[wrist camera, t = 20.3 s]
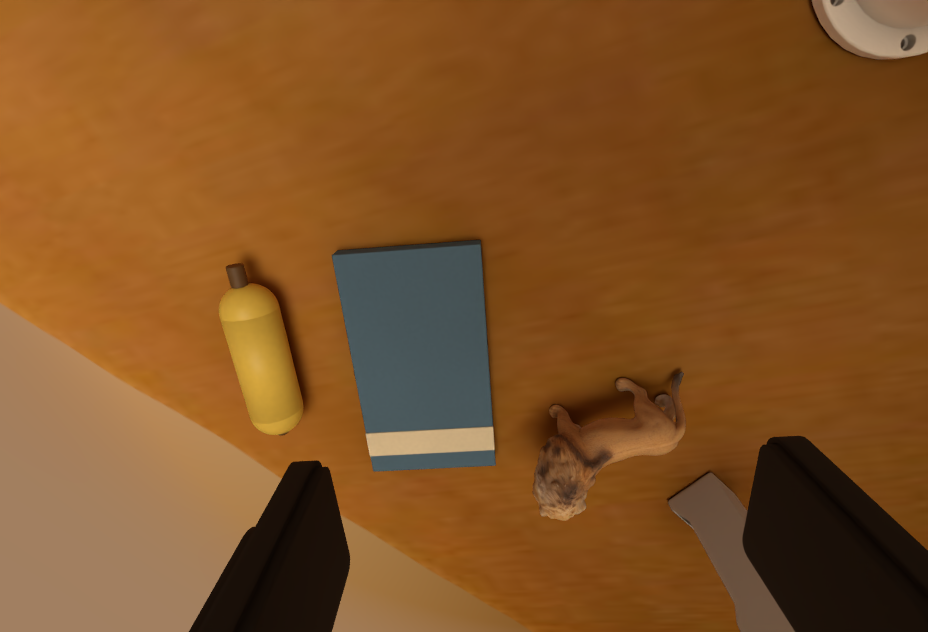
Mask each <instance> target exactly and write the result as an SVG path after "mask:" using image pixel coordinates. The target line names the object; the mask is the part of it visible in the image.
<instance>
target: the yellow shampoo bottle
mask: <svg viewBox="0 0 928 632" xmlns="http://www.w3.org/2000/svg"><path fill="white" fill-rule="evenodd" d="M226 271H227V274H228V278H229V281H230V285H231V289H230V290H228V291H227V292H226V293H225V294H224V296H223V297H222V299H221V301H220V305H219V316H220V320H221V324H222V327H223V330H224V333H225V337H226V340H227V343H228V347H229V350H230V353H231V356H232V360H233V363H234V366H235V370H236V373H237V376H238V380H239V383H240V386H241V389H242V393H243V396H244V399H245V403H246V406H247V409H248V413H249V416H250V419H251V421H252V423H253V425H254V426H255V427H256V428H257V429H258V430H260V431H261V432H263V433H266V434H270V435H285V434H287V433H288V432H289V431H290V430H291V429H293V428H294V427H295V426H296V425H297V424H298V422H299V421H300V419H301V417H302V414H303V409H304V406H303V399H302V395H301V391H300V387H299V383H298V379H297V375H296V371H295V367H294V363H293V359H292V355H291V351H290V347H289V343H288V339H287V335H286V331H285V327H284V323H283V319H282V315H281V311H280V307H279V303H278V301H277V299H276V297H275V295H274V294H273V293H272V292H271V291H270V290H269V289H267V288H266V287H264V286H261V285H259V284H254V283H248V279H247V276H246V272H245V268H244V265H243V264H241V263H238V264H232V265H228V266H226Z"/></svg>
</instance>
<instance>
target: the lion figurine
mask: <svg viewBox="0 0 928 632" xmlns="http://www.w3.org/2000/svg"><path fill="white" fill-rule="evenodd" d="M683 374H684V373H683V372H680V373H678V374H676V375H675V376H674V377H673V380H672V386H671V388H672V397H673V399H672V398H671V397H670V396H668V395H665V394H664V395H659V396H657V397H656V399H655V404H656V405H657V406H659V407H665V409H664V411H662V410H661V409H660V408H659V407H657V406H656V405H655V404H653V403H652V402H651V401H650V400H649V399H648V397H647V391H646V390H645V389H643V388H641V387H639V386H638V385H636V384H634V383H633V382H632V381H631V380H629V379H627V378H619V379H617V381H616V382H615V385H616V388H617V389H618V390H619V391H631V392H632V393H633V394H634V396H635V399H634V411H635V417H634V418H633V419H624V418H605V419H600V420H597V421H594V422H592V423H590V424H588V425H586V426H584V427H580V426H579V425H577V424H574V423H573V422H572V421H571V419H570V417H569V415H568V412H567V411H566V410H565V409H564V408H563V407H561V406H559V405H552V406H551V407H550V409H549V414H550V415H551V416H552V417H553V418H556V417H557V428H558V433H559V434H556V435H554V436H553V437H551V438H549V439H548V440H547V443H546V445H545V446H543V447H542V448H541V451H540V455H539V459H538V464H537V467H536V470H535V473H534V483H533V494H534V496H535V498H536V500H537V501H538V504H539V510H540V514H541V515H542V516H549V517H550V518H551V519H553V518H556V519H558V520H563V521H566V520H568V519H569V518H570V517H573V516H574V514H580V513H581V512H582V511H583V510H585V509H586V504H585V501H584V499H585V498H586V496H587V491H588V489H589V488H590V487H591V486H593V485H594V483H595V476H596V474H597V473H598V472H599V471H600V470H601V469H602V468H603V467H605V466H607V465H609V464H611V463H614V462H617V461H621V460H624V459H626V458H629V457H633V456H638V455H653V456H654V455H662V454H666V453H668V452H670V451H671V450H673V449H674V448H675V447H676V446H677V445H678V441H679V440H680V439H681V438H682V436H683V434H684V432H685V427H686V420H685V414H684V410H683V407H682V404H681V401H680V398H679V385H680V383H681V379H682V377H683ZM675 417H676V422H674V421H673V420H674V418H675Z"/></svg>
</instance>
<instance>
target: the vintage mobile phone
mask: <svg viewBox="0 0 928 632" xmlns="http://www.w3.org/2000/svg"><path fill="white" fill-rule="evenodd" d="M668 504H669V506H670V508H671V510H672V511H673V512H674V513H676V514H677V515H678V516H679V517H680V518H681V519H683V520H684V521H685V522H686V523H687V524H688V525H689V526H691V527H692V528H693V529H694V531H695V533H696V534H697V536H698V538H699V540H700V542H701V543H702V545H703V547H704V549H705V551H706V553H707V554H708V556H709V558H710V560H711V562H712V563H713V565H714V567H715V569H716V571H717V573H718V574H719V576H720V578H721V580H722V582H723V583H724V585H725V587H726V589H727V591H728V592H729V594H730V596H731V598H732V600H733V602H734V603H735V611H736V620H737V625H738V627H739V629H740V631H741V632H795V631H794V629H793V628H792V626H791V625H790V623H789V622H788V620H787V618H786V617H785V615H784V614H783V612H782V611H781V609H780V608H779V606H778V604H777V603H776V601H775V600H774V598H773V597H772V595H771V593H770V592H769V590H768V589H767V587H766V586H765V584H764V582H763V581H762V579H761V578H760V576H759V575H758V573H757V572H756V570H755V568H754V567H753V565H752V564H751V562H750V561H749V559H748V557H747V555H746V553H745V551H744V548H743V543H742V537H743V531H744V526H745V521H746V516H747V510H746V509H745V507H744V506H743V505H742V503H741V502H740V500H739V499H738V498H737V496H736V495H735V494H734V493H733V492H732V491H731V490H730V489H729V488H728V487H727V486H726V485H724V484H723V483H722V482H721V481H720V480H719V479H718V478H717V477H716V476H715V475H714V474H713V473H708V474H706V475H705V476H703V477H702V478H700V479H699V480H697V481H696V482H695V483H693V484H692V485H690V486H689V487H687V488H686V489H684V490H683V491H681V492H680V493H678V494H677V495H676V496H674V497H673V498H671V499H670V500H669V501H668Z"/></svg>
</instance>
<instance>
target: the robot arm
mask: <svg viewBox="0 0 928 632" xmlns="http://www.w3.org/2000/svg"><path fill="white" fill-rule="evenodd" d="M812 4H813V7H814V10H815V12H816V15H817V17H818V19H819V22H820V24H821V25H822V27H823V28H824V29H825V31H826V32H827V33H828V35H829V36H830V38H831V39H833V40H834V41H835V42H836V43H838V44H839V45H840V46H841V47H842V48H844V49H845V50H847V51H850V52H852V53H854V54H856V55H858V56H861V57H867V58H872V59H877V60H881V59H899V58H904V57H910V56H916V55H920V54H923V53H926V52H928V0H831V2H830V0H812ZM742 543H743V548H744V551H745V553H746V555H747V557H748V559H749V561H750V562H751V564H752V565H753V567H754V568H755V570H756V572H757V573H758V575H759V576H760V578H761V579H762V581H763V582H764V584H765V586H766V587H767V589H768V590H769V592H770V593H771V595H772V597H773V598H774V600H775V601H776V603H777V604H778V606H779V608H780V609H781V611H782V612H783V614H784V615H785V617H786V618H787V620H788V622H789V623H790V625H791V626H792V628H793V629H794V631H795V632H928V551H927V550H926V549H925V548H924V547H923V546H922V545H921V544H920V543H919V542H918V541H917V540H916V539H915V538H913V537H912V536H911V535H910V534H909V533H908V532H907V531H906V530H905V529H904V528H903V527H902V526H901V525H899V524H898V523H897V522H896V521H895V520H894V519H893V518H892V517H891V516H890V515H889V514H888V513H887V512H885V511H884V510H883V509H882V508H881V507H880V506H879V505H878V504H877V503H876V502H875V501H874V500H873V499H871V498H870V497H869V496H868V495H867V494H866V493H865V492H864V491H863V490H862V489H861V488H860V487H859V486H857V485H856V484H855V483H854V482H853V481H852V480H851V479H850V478H849V477H848V476H847V475H846V474H845V473H843V472H842V471H841V470H840V469H839V468H838V467H837V466H836V465H835V464H834V463H833V462H832V461H831V460H829V459H828V458H827V457H826V456H825V455H824V454H823V453H822V452H821V451H820V450H819V449H818V448H816V447H815V446H814V445H813V444H812V443H811V442H810V441H809V440H808V439H806V438H805V437H802V436H787V437H773V438H770V439H769V440H768V442H767V445H762V447H761V448H760V451H759V456H758V461H757V466H756V471H755V476H754V481H753V486H752V491H751V496H750V501H749V506H748V511H747V516H746V521H745V526H744V531H743V537H742ZM349 566H350V554H349V550H348V545H347V541H346V537H345V533H344V528H343V524H342V520H341V516H340V511H339V507H338V503H337V499H336V495H335V490H334V486H333V482H332V478H331V474H330V470H329V468H328V467H322V465H321V463H320V462H319V461H299V462H292V463H291V464H290V465H289V467H288V469H287V470H286V472H285V474H284V476H283V478H282V480H281V482H280V483H279V485H278V487H277V489H276V491H275V492H274V494H273V496H272V498H271V500H270V501H269V503H268V505H267V507H266V508H265V510H264V512H263V514H262V516H261V518H260V519H259V521H258V523H257V525H256V527H252V528H250V529H249V530H248V531H247V532H246V533H245V535H244V536H243V538H242V539H241V541H240V543H239V545H238V547H237V548H236V550H235V552H234V553H233V555H232V557H231V559H230V561H229V562H228V564H227V566H226V567H225V569H224V571H223V573H222V574H221V576H220V578H219V580H218V582H217V583H216V585H215V587H214V589H213V590H212V592H211V594H210V596H209V598H208V599H207V601H206V603H205V604H204V606H203V608H202V610H201V611H200V614H199V615H198V617H197V618H196V620H195V622H194V624H193V625H192V627H191V629H190V631H189V632H332V629H333V625H334V622H335V618H336V615H337V611H338V608H339V604H340V601H341V597H342V594H343V590H344V587H345V583H346V579H347V576H348V572H349Z"/></svg>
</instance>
